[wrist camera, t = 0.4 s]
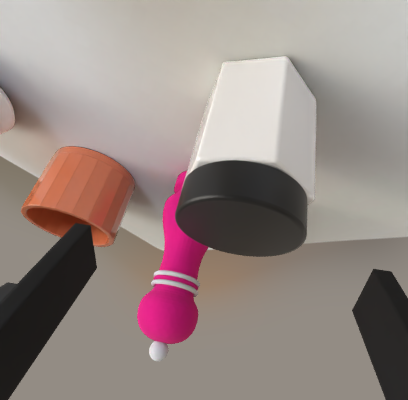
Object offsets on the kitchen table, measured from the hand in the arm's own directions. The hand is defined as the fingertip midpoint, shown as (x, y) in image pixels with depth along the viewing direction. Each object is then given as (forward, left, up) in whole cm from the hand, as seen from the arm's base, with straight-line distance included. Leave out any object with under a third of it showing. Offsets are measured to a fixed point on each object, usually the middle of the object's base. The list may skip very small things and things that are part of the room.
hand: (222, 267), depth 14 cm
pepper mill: (+17, -4, -15) cm, 23 cm away
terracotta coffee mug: (+21, -19, -15) cm, 32 cm away
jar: (+3, +1, -15) cm, 16 cm away
